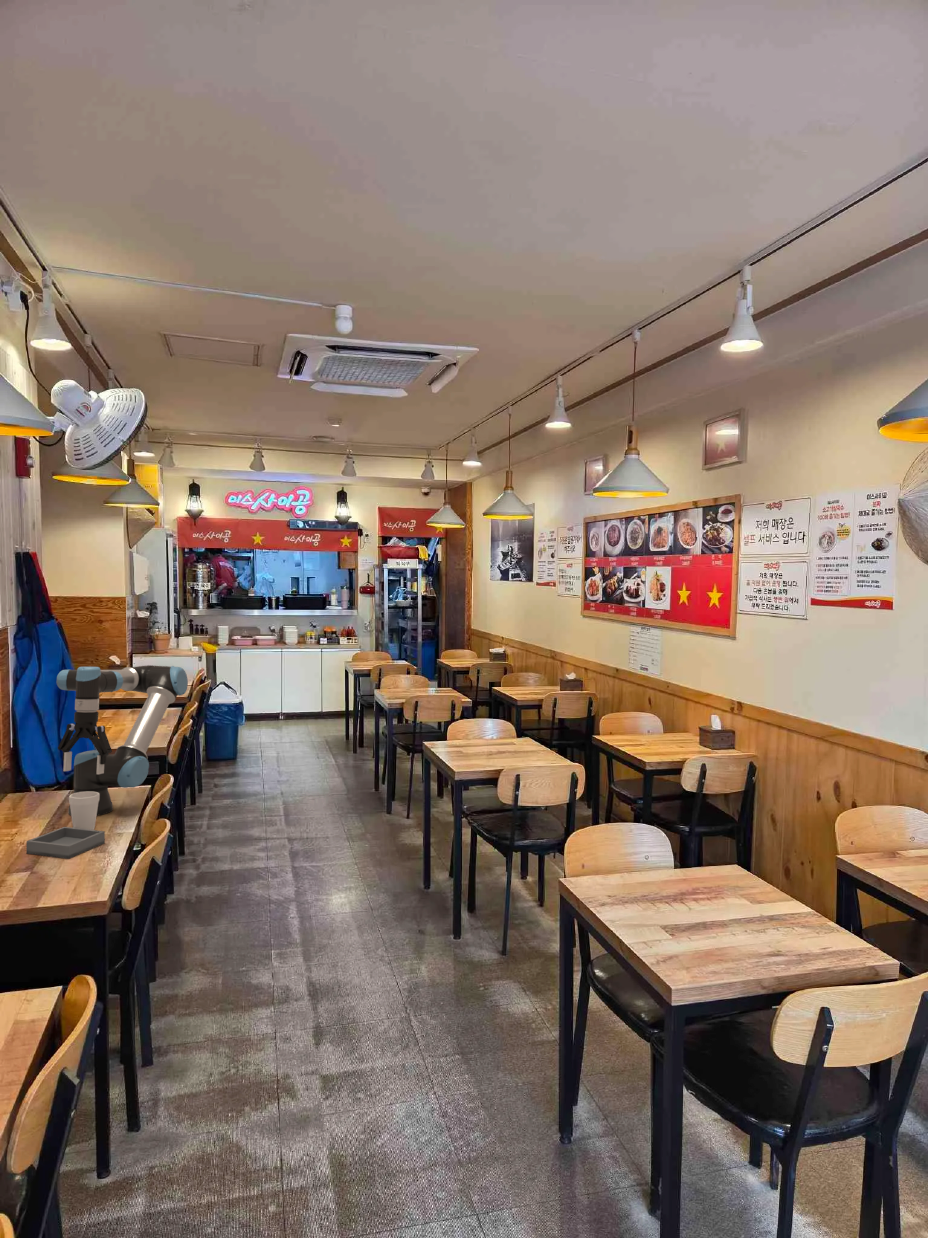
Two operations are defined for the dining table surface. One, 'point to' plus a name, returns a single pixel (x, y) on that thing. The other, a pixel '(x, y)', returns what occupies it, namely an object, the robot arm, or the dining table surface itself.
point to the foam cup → (84, 809)
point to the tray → (65, 842)
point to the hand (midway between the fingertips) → (83, 772)
